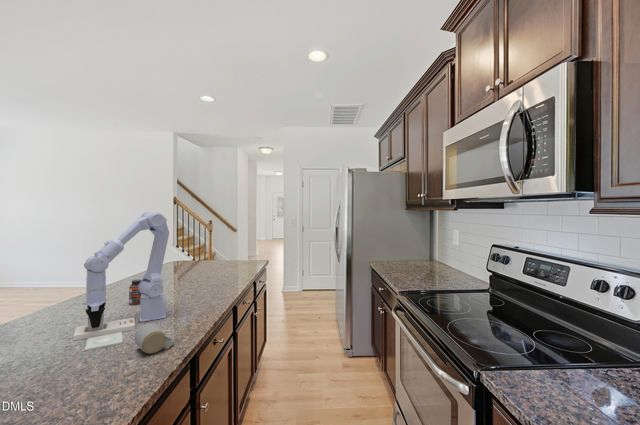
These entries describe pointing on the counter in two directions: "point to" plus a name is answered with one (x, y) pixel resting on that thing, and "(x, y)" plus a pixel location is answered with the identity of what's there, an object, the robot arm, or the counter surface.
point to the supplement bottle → (134, 293)
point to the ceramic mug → (152, 338)
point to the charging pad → (103, 341)
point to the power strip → (111, 328)
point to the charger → (97, 327)
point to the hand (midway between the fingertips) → (96, 325)
